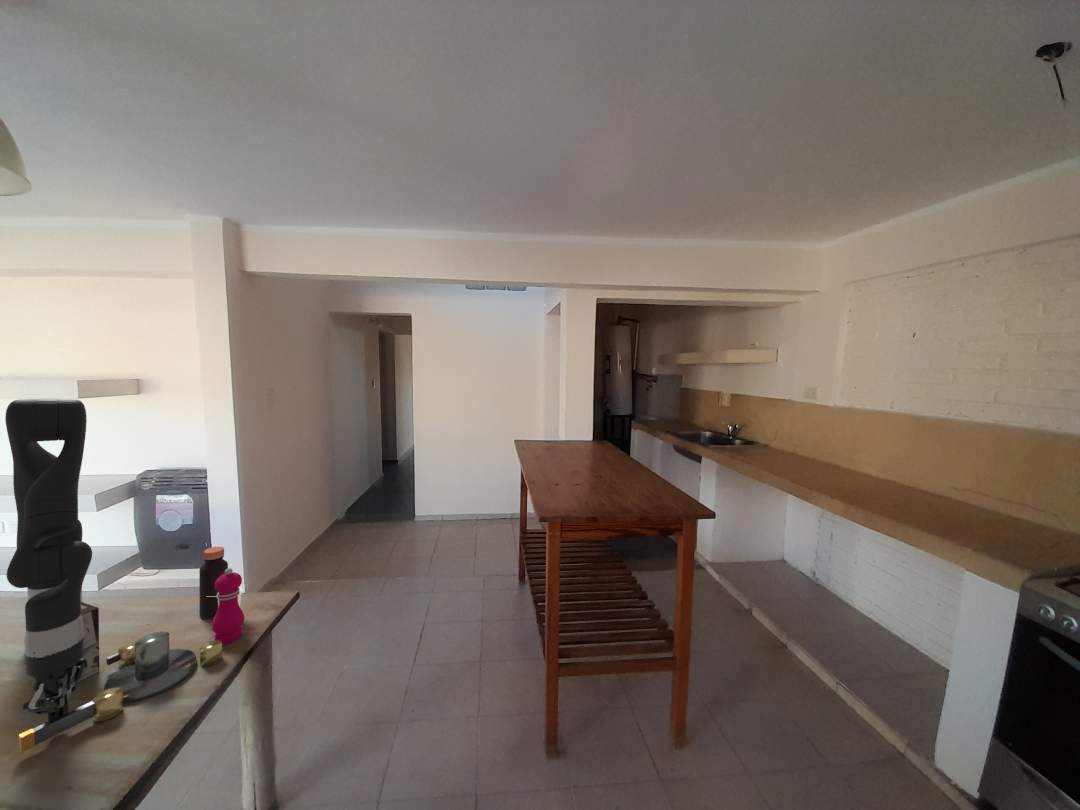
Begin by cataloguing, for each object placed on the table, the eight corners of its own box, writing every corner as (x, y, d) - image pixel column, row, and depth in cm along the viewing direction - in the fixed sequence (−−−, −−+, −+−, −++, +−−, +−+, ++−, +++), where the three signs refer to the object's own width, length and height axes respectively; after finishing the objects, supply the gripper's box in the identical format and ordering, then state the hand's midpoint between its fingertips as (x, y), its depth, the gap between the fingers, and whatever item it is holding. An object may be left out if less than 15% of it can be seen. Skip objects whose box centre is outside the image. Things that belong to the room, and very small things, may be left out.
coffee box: (101, 671, 99) (100, 607, 98) (63, 689, 93) (61, 622, 92) (80, 661, 102) (78, 599, 101) (41, 678, 95) (40, 612, 95)
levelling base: (64, 696, 91) (63, 656, 90) (151, 643, 109) (151, 609, 109) (159, 708, 89) (158, 667, 88) (230, 652, 107) (230, 617, 107)
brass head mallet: (23, 762, 75) (23, 741, 75) (17, 751, 77) (16, 731, 77) (126, 710, 87) (126, 692, 87) (118, 701, 90) (118, 684, 89)
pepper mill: (226, 648, 109) (226, 576, 108) (204, 643, 110) (204, 572, 109) (250, 632, 116) (251, 564, 115) (230, 627, 117) (230, 561, 116)
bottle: (195, 621, 120) (195, 555, 119) (204, 609, 126) (204, 546, 125) (223, 616, 122) (224, 552, 121) (230, 605, 129) (230, 544, 127)
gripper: (55, 624, 85) (58, 700, 87) (-1, 669, 73) (3, 757, 75) (102, 619, 88) (104, 692, 89) (55, 661, 76) (58, 746, 77)
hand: (58, 721), depth 82 cm, fingers closed
